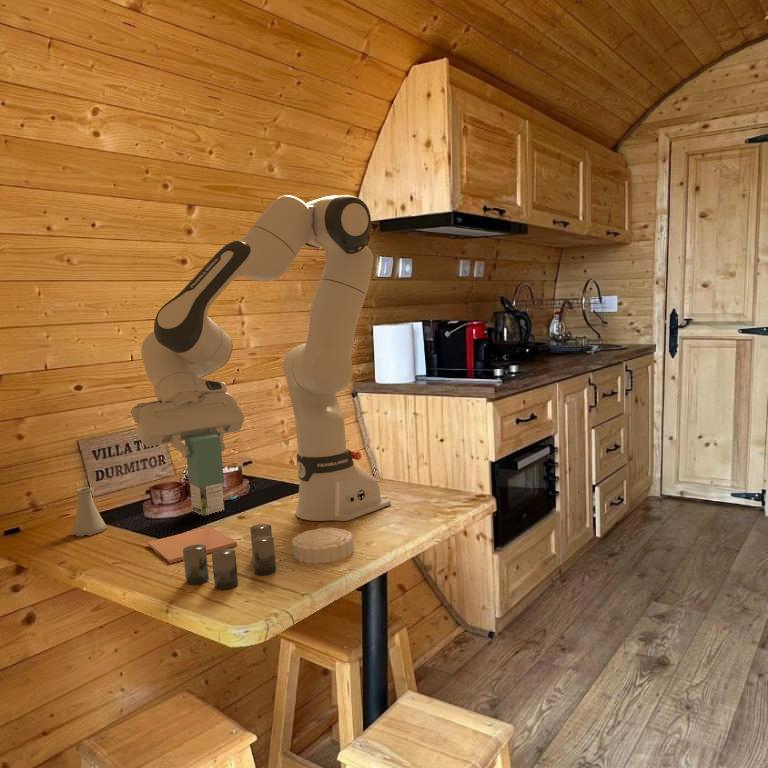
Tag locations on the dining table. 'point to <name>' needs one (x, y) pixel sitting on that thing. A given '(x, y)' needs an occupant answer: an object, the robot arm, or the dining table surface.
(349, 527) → the dining table surface
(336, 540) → the mooncake
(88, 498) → the flask
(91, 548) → the dining table surface
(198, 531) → the tile
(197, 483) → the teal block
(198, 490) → the syrup box
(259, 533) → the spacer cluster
